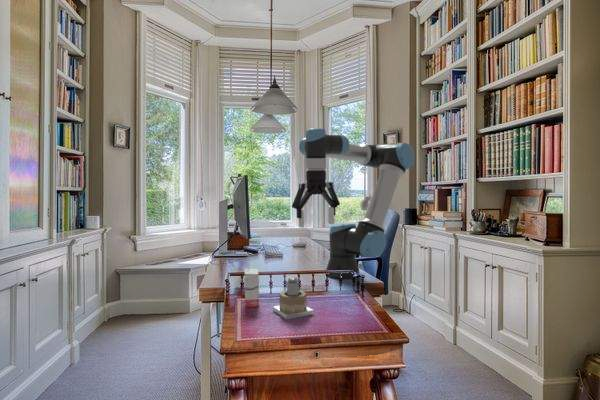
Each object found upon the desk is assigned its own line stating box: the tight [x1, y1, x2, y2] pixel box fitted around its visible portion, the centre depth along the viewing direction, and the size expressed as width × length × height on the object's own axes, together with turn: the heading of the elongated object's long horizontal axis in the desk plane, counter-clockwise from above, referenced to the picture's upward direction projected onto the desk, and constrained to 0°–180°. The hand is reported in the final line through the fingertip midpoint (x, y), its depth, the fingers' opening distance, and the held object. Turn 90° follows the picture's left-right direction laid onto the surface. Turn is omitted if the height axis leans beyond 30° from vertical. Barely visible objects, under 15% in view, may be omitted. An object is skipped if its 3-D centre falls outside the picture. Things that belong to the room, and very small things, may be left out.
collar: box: [278, 289, 308, 313], centre depth 143 cm, size 8×8×5 cm
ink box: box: [244, 268, 260, 308], centre depth 153 cm, size 9×5×12 cm, turn 5°
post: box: [272, 277, 315, 321], centre depth 143 cm, size 10×10×12 cm
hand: (316, 225), depth 164 cm, fingers open, 13 cm apart
